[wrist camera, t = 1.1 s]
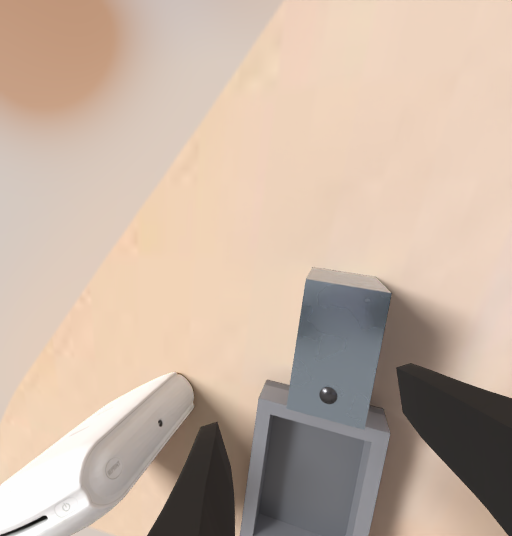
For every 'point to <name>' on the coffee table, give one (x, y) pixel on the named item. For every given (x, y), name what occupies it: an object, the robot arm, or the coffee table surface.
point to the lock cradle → (311, 471)
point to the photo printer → (94, 461)
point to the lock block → (338, 346)
